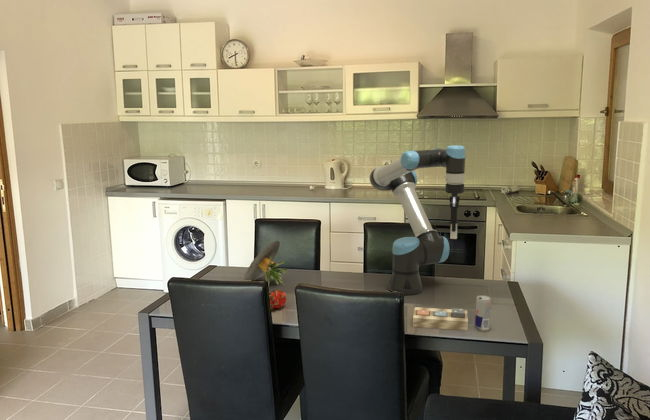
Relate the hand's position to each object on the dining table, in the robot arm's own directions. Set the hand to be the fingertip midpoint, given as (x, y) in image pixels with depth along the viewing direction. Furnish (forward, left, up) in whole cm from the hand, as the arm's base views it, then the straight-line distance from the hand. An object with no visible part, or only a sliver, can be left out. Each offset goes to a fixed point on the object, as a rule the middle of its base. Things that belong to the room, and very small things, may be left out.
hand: (453, 238), depth 228 cm
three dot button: (+13, -27, -25) cm, 38 cm away
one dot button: (+7, -30, -25) cm, 40 cm away
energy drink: (+27, -20, -26) cm, 42 cm away
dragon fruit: (-45, -60, -26) cm, 80 cm away
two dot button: (+18, -23, -23) cm, 37 cm away
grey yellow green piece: (-72, -45, -26) cm, 89 cm away
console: (+13, -26, -26) cm, 39 cm away
